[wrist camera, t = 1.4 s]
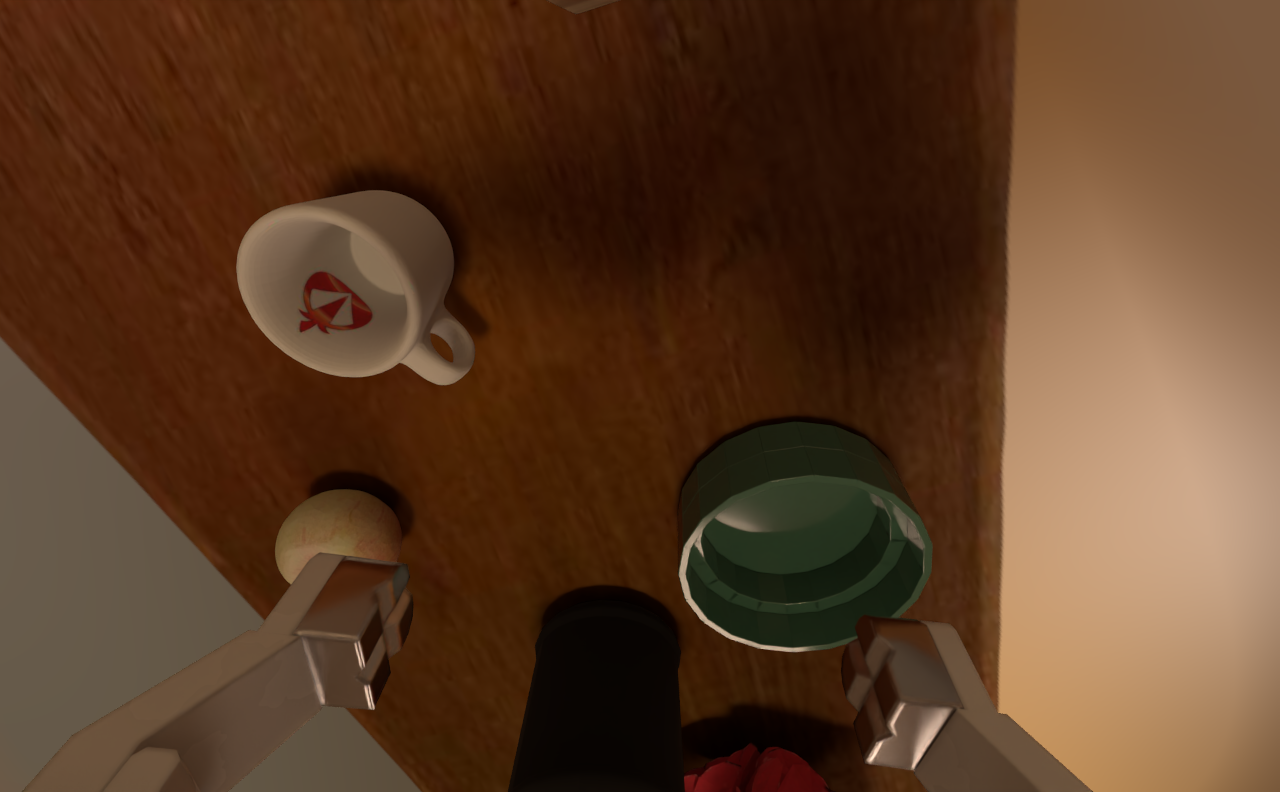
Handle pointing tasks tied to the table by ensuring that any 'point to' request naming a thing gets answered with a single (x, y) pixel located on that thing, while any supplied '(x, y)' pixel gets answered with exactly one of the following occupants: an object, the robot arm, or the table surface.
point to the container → (602, 704)
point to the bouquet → (756, 773)
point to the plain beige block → (580, 4)
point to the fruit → (337, 530)
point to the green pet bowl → (798, 538)
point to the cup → (355, 285)
